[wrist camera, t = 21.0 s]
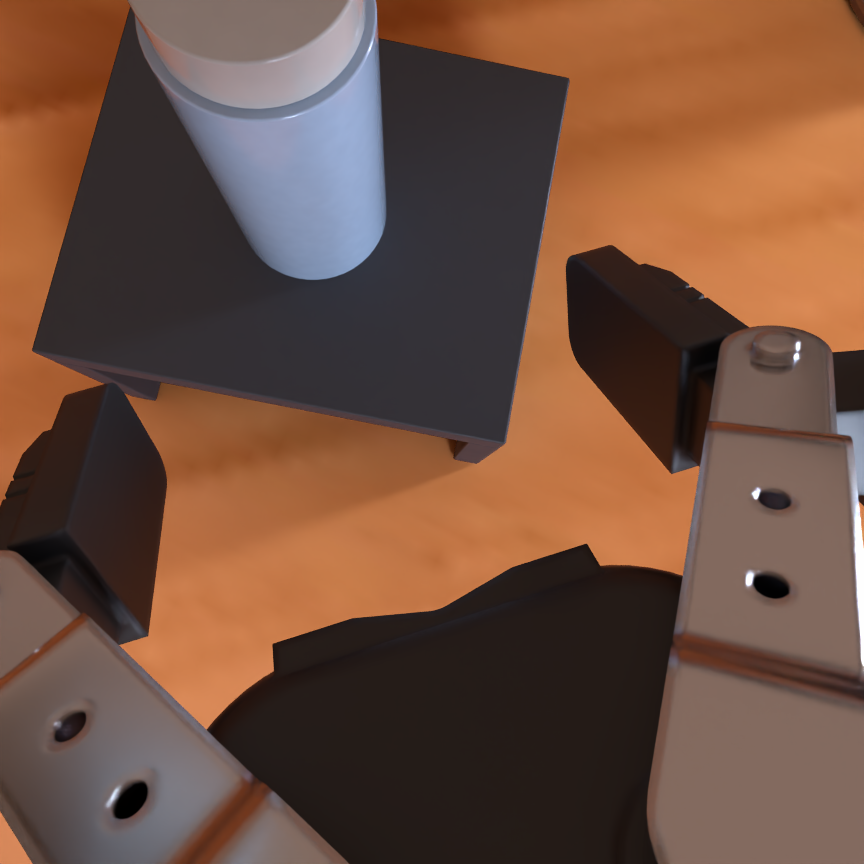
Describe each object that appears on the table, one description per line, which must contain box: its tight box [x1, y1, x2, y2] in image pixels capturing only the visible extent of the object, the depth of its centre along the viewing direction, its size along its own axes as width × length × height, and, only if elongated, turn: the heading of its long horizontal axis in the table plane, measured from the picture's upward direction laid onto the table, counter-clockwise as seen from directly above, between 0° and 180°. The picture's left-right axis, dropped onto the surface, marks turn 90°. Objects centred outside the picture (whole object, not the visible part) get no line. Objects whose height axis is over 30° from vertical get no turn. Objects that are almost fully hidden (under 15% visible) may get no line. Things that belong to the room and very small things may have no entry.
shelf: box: [32, 7, 570, 464], centre depth 23 cm, size 12×14×7 cm
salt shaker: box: [127, 0, 386, 280], centre depth 15 cm, size 4×4×9 cm
